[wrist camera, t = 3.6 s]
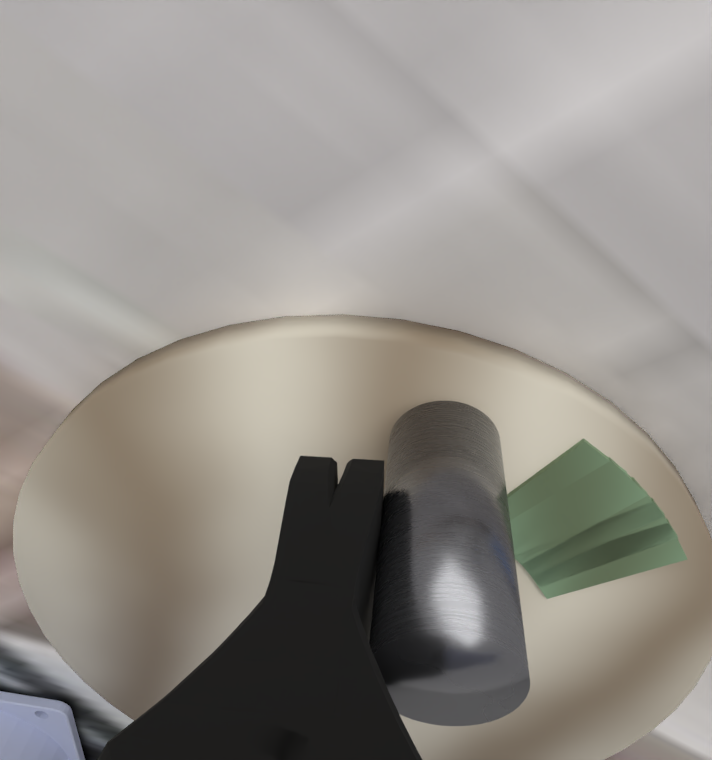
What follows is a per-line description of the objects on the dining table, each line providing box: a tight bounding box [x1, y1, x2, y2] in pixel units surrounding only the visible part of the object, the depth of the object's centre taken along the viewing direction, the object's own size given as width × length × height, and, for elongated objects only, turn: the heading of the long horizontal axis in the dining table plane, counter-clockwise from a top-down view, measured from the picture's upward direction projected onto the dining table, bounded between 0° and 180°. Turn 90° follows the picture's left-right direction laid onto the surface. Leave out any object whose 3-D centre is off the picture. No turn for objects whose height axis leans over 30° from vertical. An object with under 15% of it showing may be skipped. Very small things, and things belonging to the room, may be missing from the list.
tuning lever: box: [369, 401, 530, 726], centre depth 14 cm, size 11×3×6 cm, turn 165°
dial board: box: [13, 315, 712, 760], centre depth 19 cm, size 20×20×1 cm
